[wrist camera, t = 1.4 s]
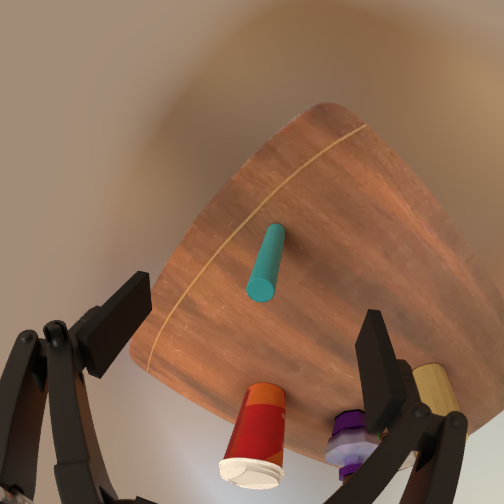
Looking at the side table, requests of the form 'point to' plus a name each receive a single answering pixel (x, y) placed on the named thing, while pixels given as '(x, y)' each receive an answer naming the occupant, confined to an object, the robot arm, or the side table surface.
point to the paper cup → (257, 440)
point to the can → (435, 389)
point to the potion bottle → (350, 443)
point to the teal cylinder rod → (267, 265)
